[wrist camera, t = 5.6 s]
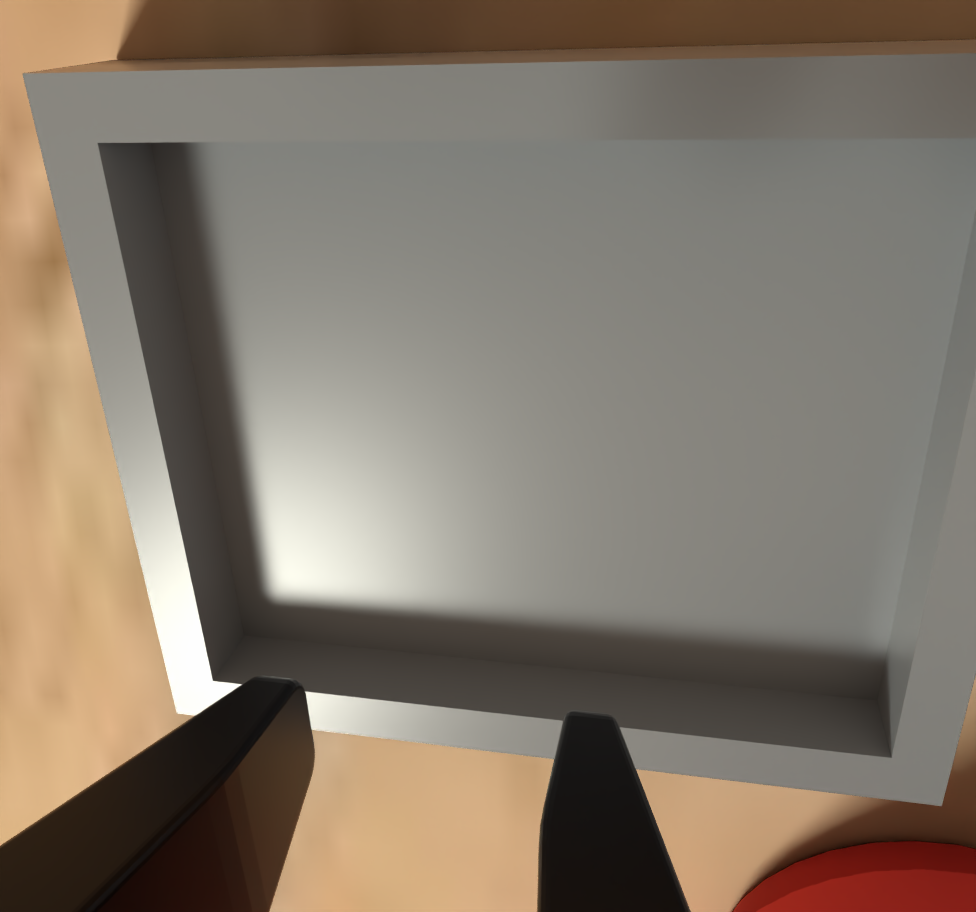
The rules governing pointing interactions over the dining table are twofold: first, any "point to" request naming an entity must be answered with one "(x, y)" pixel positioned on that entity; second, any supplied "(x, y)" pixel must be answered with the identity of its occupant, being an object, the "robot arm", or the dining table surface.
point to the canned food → (873, 881)
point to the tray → (549, 390)
